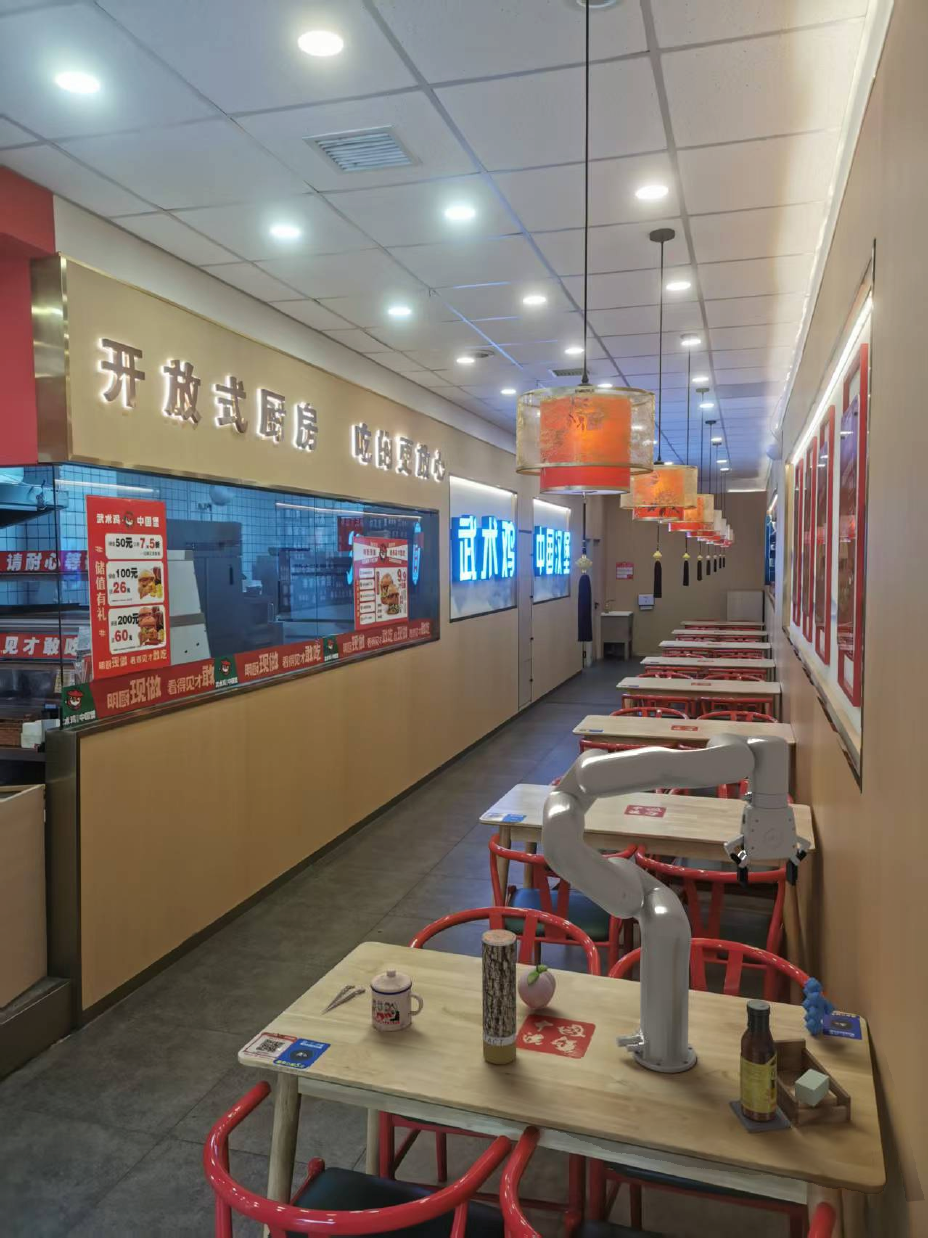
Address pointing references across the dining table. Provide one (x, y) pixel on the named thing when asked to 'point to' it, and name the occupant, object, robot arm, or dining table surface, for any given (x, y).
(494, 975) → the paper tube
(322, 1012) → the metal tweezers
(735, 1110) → the mat
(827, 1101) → the plate
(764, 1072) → the sauce bottle
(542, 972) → the decorative fruit
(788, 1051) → the wooden tray
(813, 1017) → the grapes
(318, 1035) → the dining table surface
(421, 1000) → the teacup with lid
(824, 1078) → the offcut top
